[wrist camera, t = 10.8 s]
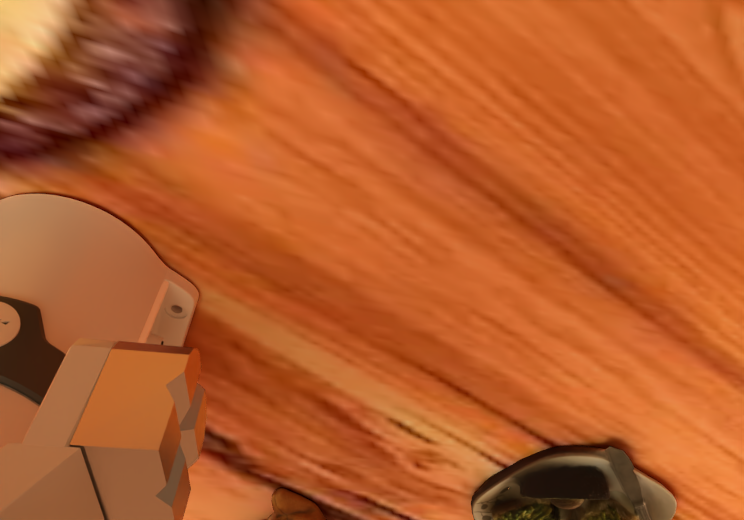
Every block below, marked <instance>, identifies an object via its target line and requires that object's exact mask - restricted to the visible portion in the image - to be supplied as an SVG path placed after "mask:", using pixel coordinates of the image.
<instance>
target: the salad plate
mask: <svg viewBox="0 0 744 520" xmlns="http://www.w3.org/2000/svg"><path fill="white" fill-rule="evenodd" d="M508 488H509V489H508ZM471 506H472V514H473V517H474V520H671V519H672V518H673V516H674V514H675V511H676V507H677V502H676V499H675V497H674V496H673V494H672V493H671V492H670V491H669V490H667V489H666V488H665V487H664V486H663V485H662V484H661V483H659V482H657V481H656V480H654V479H653V478H651V477H649V476H647V475H646V474H644V473H643V472H641V471H639V470H638V469H636V468H634V466H633V464H632V462H631V460H630V459H629V457H628V456H627V455H626V454H625V452H624V451H623V450H620V449H617V448H614V447H611V446H610V447H608V448H607V449H601V448H596V447H588V446H560V447H554V448H550V449H546V450H543V451H540V452H538V453H535V454H533V455H531V456H529V457H526V458H524V459H522V460H520V461H518V462H516V463H515V464H513V465H511V466H509V467H507V468H506V469H504V470H502V471H500V472H498V473H497V474H495V475H493V476H492V477H490V478H489V479H488V480H487V481H486V482H485V483H484V484H483V485H482V486H481V487H480V488H479V489H478V490H477V491H476V492H475V493H474V495H473V497H472V501H471Z"/></svg>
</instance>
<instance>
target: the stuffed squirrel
mask: <svg viewBox="0 0 744 520" xmlns="http://www.w3.org/2000/svg"><path fill="white" fill-rule="evenodd" d="M272 506H273V510H274V513H273V514H272V515H271V516H270V517H269V518H268V519H267V520H327V519H326V518H325V516H324V515H323V513H322V512H321V510H320V509H319V507H318V506H317V505H316V504H315V503H313V502H312V501H310V500H308V499H306V498H304V497H302V496H300V495H298V494H296V493H294V492H291V491H289V490H287V489H284V488H282V489H281V488H280V489H278V490H276V491H275V492H274V493H273V495H272Z"/></svg>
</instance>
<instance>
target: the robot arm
mask: <svg viewBox="0 0 744 520" xmlns="http://www.w3.org/2000/svg"><path fill="white" fill-rule="evenodd" d="M198 299H199V293H198V290H197V289H196V287H195V286H194V285H193V284H191V283H190V282H189V281H188V280H186V279H185V278H183V277H182V276H180V275H179V274H177V273H176V272H174V271H173V270H171V269H169V268H168V267H167V266H166V265H165V264H164V263H163V262H162V261H161V260H160V259H159V257H158V256H157V255H156V254H155V252H154V251H153V250H152V249H151V247H150V246H149V245H148V244H147V243H146V242H145V241H144V240H143V239H142V238H141V237H140V236H139V235H138V234H137V233H136V232H135V231H134V230H132V229H131V228H130V227H129V226H127V225H126V224H124V223H123V222H122V221H120V220H119V219H117V218H115V217H114V216H112V215H110V214H108V213H107V212H105V211H103V210H101V209H99V208H96V207H94V206H92V205H89V204H86V203H84V202H81V201H78V200H74V199H71V198H67V197H62V196H57V195H49V194H21V195H15V196H11V197H7V198H4V199H1V200H0V520H183V516H184V512H185V509H186V505H187V501H188V498H189V494H190V490H191V487H190V482H189V476H188V470H187V469H188V468H189V467H190V466H191V465H193V464H194V463H195V462H196V461H197V460H198V459H199V456H200V452H201V448H202V444H203V440H204V433H205V426H206V418H207V401H206V393H205V389H204V388H203V387H202V386H201V385H200V384H198V383H197V382H198V379H199V375H200V372H201V368H202V365H201V360H200V354H199V350H198V349H196V348H190V347H183V345H184V342H185V339H186V336H187V333H188V330H189V327H190V323H191V320H192V317H193V314H194V311H195V308H196V305H197V302H198ZM179 306H180V307H179Z"/></svg>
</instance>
